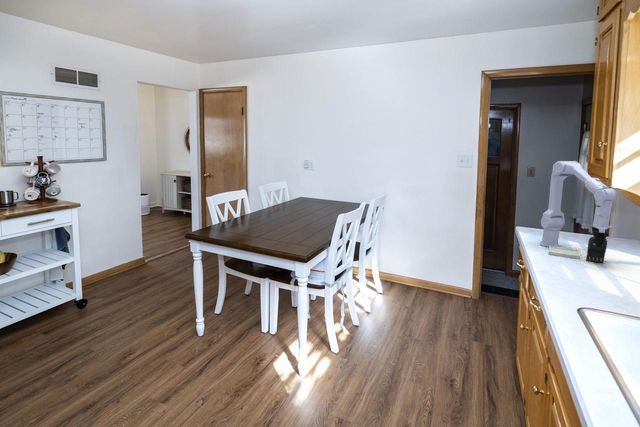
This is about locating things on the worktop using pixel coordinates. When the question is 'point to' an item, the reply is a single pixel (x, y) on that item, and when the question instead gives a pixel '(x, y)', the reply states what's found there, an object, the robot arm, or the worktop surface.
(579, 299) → the worktop surface
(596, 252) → the battery charger
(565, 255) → the tray
